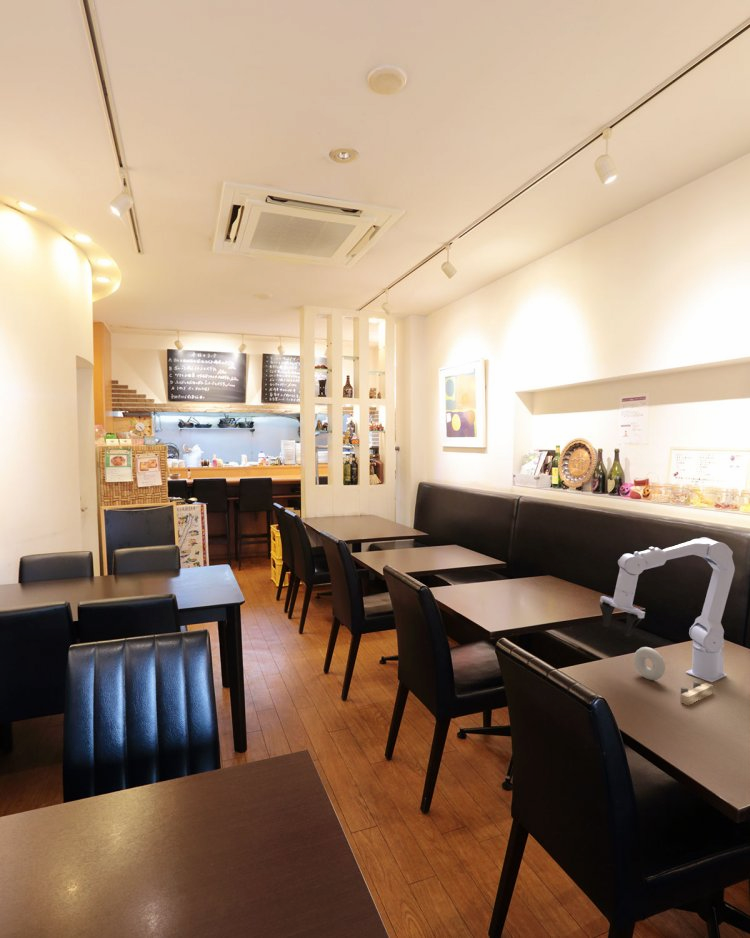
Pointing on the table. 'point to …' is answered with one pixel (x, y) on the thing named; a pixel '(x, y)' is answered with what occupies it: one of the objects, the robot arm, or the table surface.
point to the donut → (656, 660)
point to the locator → (696, 692)
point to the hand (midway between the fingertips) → (616, 631)
